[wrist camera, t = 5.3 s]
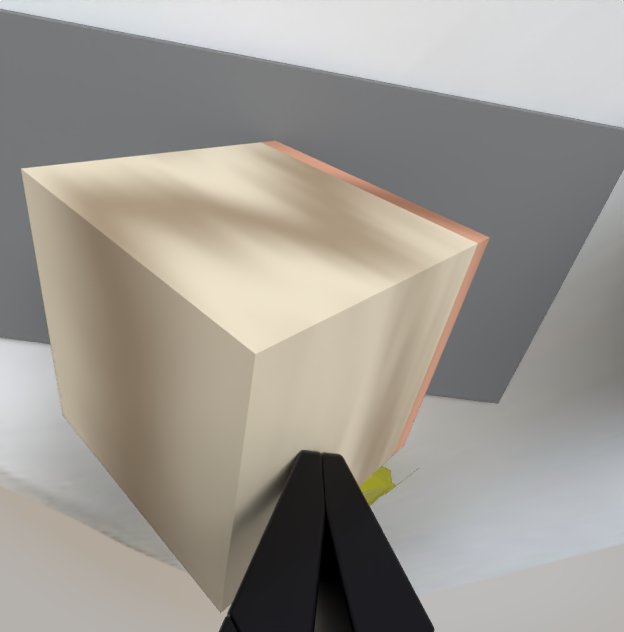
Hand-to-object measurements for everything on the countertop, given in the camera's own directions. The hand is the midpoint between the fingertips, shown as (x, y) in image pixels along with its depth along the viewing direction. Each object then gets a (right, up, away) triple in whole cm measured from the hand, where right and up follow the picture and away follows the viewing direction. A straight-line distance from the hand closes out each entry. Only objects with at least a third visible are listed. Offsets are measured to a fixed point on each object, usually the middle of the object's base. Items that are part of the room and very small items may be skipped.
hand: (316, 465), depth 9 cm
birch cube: (+1, +3, +5) cm, 6 cm away
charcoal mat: (-4, +6, +7) cm, 10 cm away
